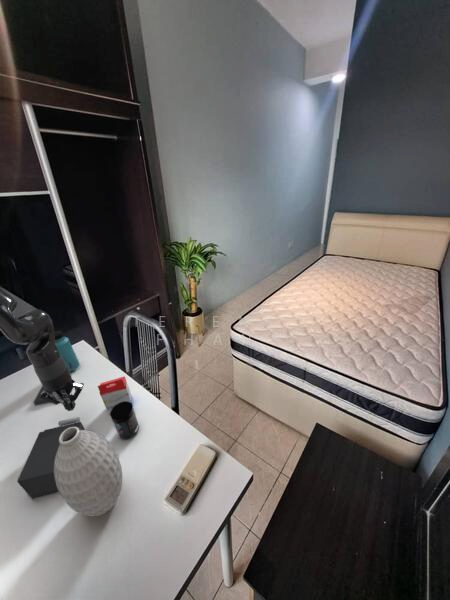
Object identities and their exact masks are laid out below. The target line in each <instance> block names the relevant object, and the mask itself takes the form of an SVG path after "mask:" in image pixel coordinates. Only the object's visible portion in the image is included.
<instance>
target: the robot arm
mask: <svg viewBox="0 0 450 600" xmlns="http://www.w3.org/2000/svg"><path fill="white" fill-rule="evenodd" d="M17 306H18V301H17V300H16V299H15V298H14V297H13V296H11V295H9V294H8V293H7V292H5V291H3V290H2V289H0V331H1V333H2V334H3V335H4V336H5V338H7V339H8V340H10V341H11V342H12V343H14V344H17V345H24V346H25V345H26V346H27V345H28V346H27V348H26V355H27V357H28V359H29V361H30V363H31V365H32V367H33V370H34V373H35V374H36V377H37V379H38V380H39V382H40V383H41V385H42V386H43V387H44V389H45V390H43V392H42V393H41V395H40V398H41V399H44V400H46V401H49V403H52V404H54V405H59V404H61V405H62V406H63V407H64V410H66V411H67V412H71V411H74V410H75V408H76V404H77V403H76V400H77V399H78V397H79V396H80V394H81V393H82V391H83V389H84V385H85V383H83V382H80V383H76V381H75V380H74V379H73V378H72V375H71V371H69V370H68V368H67V366H66V363H65V361H64V359H63V358H62V356H61V355H60V353H59V351H58V349H57V346H56V344H55V334H54V332H55V327H54V322H53V319H52V318H51V316H50V315H49V314H48V313H47V312H46V311H45V310H44V309H43V310H42V309H39V308H32V309H29V310H27V311H26V312H24V313H23V314H22V315H20V316H19V317H16V316H15V315H14V313H13V312H14V310H15V309H16V308H17ZM73 390H74V393H73ZM53 398H55V399H56V400H55V399H53Z"/></svg>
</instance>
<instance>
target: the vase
mask: <svg viewBox="0 0 450 600" xmlns="http://www.w3.org/2000/svg"><path fill="white" fill-rule="evenodd" d="M59 443H60V445H59V448H58V450H57V453H56V456H55V461H54V477H55V482H56V485H57V488H58V491H59V492H58V493H59V494H60V496H61V497H62V499H63V500H64V502H65V503H66V504H67V505H68V506H69V507H70V508H71V509H72V510H73V511H75V512H76V513H78V514H80V515H83V516H87V517H99V516H101V515H104V514H106V513H107V512H109V511H110V510H111V509H112V508H113V507H114V506H115V505H116V503H117V502H118V500H119V498H120V496H121V492H122V488H123V477H124V476H123V470H122V469H123V468H122V464H121V461H120V458H119V456H118V453H117V452H116V450H115V448H114V446H113V445H112V443H111V442H110V441H109V440H108V439H107V438H105V437H104V436H103V435H101V434H99V433H98V432H95V431H93V430H92V431H91V430H86V429H85V430H79V428H77V427H70V428H68V429H66V430H65V431H63V432H62V434H61V435H60V437H59Z"/></svg>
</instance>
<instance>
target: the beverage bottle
mask: <svg viewBox="0 0 450 600" xmlns="http://www.w3.org/2000/svg"><path fill="white" fill-rule="evenodd" d="M54 334H55V344H56V346H57V349H58V351H59V353H60V355H61V356H62V358H63V359H64V361H65V363H66V366H67V368H68V370H69V372H72V371H75V370H76V369H77V368H78V367H79V366H80V361H79V358H78V356H77V354H76V352H75V351H74V348H73V345H72V344H71V341H70V338H69V337H66V336H65V334H64V333H63V331H62V330H55V331H54Z"/></svg>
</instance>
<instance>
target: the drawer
mask: <svg viewBox="0 0 450 600" xmlns="http://www.w3.org/2000/svg"><path fill="white" fill-rule="evenodd" d="M79 423H81V424H82V426H83V428H84V430H85V431H86V429H85V427H84V425H83V423H82V421H81V417H80V416H76V417H72V418H67V419H63V420H59V421H58V426H56V427H52V428H47V429H44V430H43V431H47V430H52V429H56V428H61V427H65V426H70V425H74V424H79Z"/></svg>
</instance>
